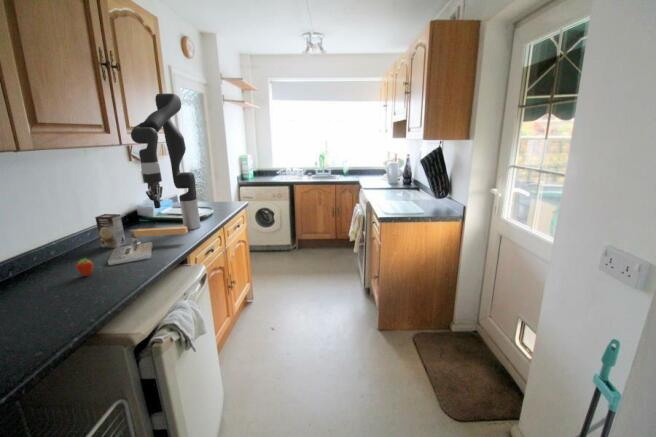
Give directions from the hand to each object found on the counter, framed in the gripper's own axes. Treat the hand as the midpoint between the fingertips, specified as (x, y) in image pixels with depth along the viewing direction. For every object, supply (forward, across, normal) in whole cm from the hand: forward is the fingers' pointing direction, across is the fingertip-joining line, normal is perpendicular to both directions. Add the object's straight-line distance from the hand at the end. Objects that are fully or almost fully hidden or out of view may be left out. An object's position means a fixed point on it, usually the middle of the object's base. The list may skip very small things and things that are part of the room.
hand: (157, 207), depth 148 cm
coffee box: (+21, -8, -28) cm, 36 cm away
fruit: (+20, +28, -19) cm, 40 cm away
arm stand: (+21, -6, -17) cm, 27 cm away
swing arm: (+16, -7, -5) cm, 18 cm away
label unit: (+20, +8, -12) cm, 25 cm away
